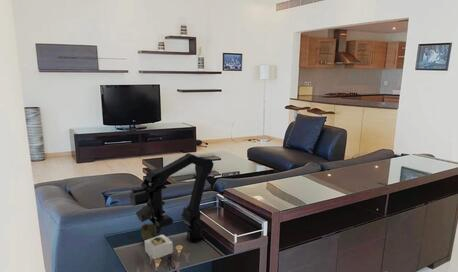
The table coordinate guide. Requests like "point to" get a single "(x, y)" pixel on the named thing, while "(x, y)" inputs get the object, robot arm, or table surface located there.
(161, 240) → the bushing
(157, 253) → the jig
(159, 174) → the robot arm
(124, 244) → the table surface
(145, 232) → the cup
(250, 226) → the table surface
